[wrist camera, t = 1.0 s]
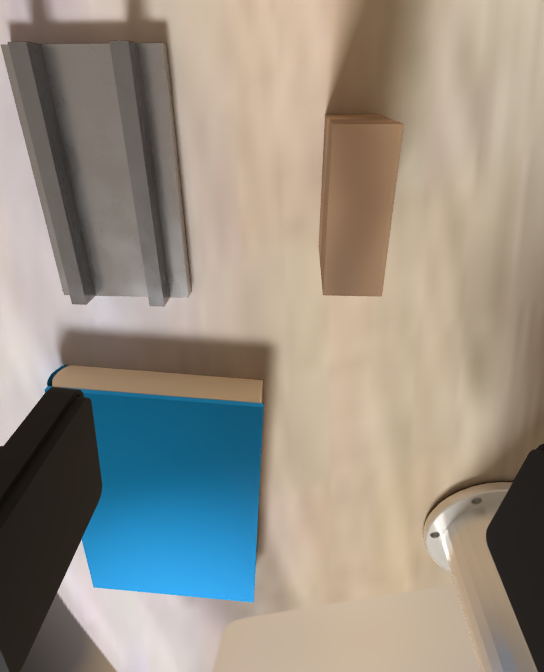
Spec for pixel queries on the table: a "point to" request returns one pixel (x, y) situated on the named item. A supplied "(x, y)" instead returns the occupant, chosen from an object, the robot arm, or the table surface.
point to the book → (173, 481)
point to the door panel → (357, 201)
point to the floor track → (105, 165)
